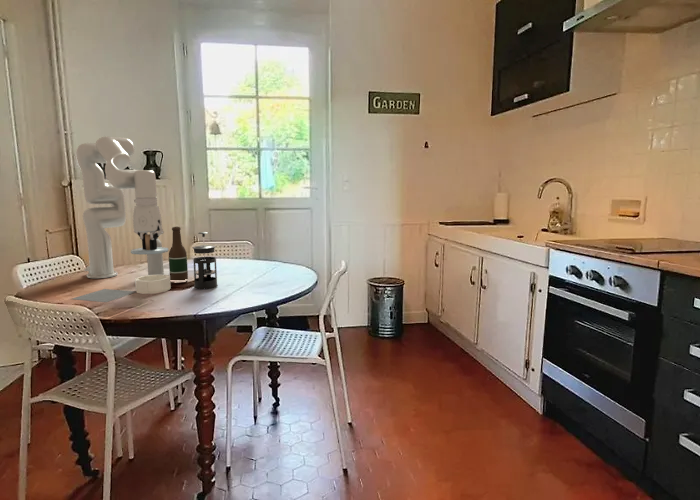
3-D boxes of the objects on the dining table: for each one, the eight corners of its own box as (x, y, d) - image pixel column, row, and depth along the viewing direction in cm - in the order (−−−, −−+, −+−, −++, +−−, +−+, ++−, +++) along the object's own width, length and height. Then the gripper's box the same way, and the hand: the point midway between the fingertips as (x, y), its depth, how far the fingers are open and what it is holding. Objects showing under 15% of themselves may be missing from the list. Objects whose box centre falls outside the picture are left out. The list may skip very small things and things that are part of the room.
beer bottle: (191, 279, 201) (188, 226, 198) (183, 283, 194) (180, 228, 190) (175, 279, 202) (171, 226, 198) (166, 283, 195) (162, 227, 191)
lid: (122, 253, 173) (121, 235, 172) (147, 248, 186) (146, 232, 185) (153, 255, 170) (151, 237, 169) (175, 249, 183) (174, 233, 182)
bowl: (129, 294, 176) (128, 280, 175) (150, 286, 188) (149, 273, 187) (156, 296, 173) (155, 282, 172) (176, 288, 185) (175, 275, 184)
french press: (198, 283, 194) (196, 230, 190) (220, 283, 194) (218, 230, 190) (189, 290, 182) (186, 234, 178) (213, 290, 182) (210, 233, 179)
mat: (70, 300, 167) (70, 298, 167) (104, 290, 182) (104, 288, 182) (106, 303, 163) (106, 302, 162) (137, 293, 178) (137, 291, 178)
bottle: (145, 278, 204) (140, 216, 199) (156, 275, 210) (152, 215, 206) (156, 279, 201) (152, 217, 197) (167, 276, 208) (163, 215, 203)
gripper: (122, 202, 173) (125, 249, 176) (158, 203, 169) (161, 251, 172) (136, 201, 181) (139, 247, 183) (170, 202, 176) (173, 248, 179)
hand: (149, 248), depth 178 cm, fingers closed on lid, 2 cm apart
